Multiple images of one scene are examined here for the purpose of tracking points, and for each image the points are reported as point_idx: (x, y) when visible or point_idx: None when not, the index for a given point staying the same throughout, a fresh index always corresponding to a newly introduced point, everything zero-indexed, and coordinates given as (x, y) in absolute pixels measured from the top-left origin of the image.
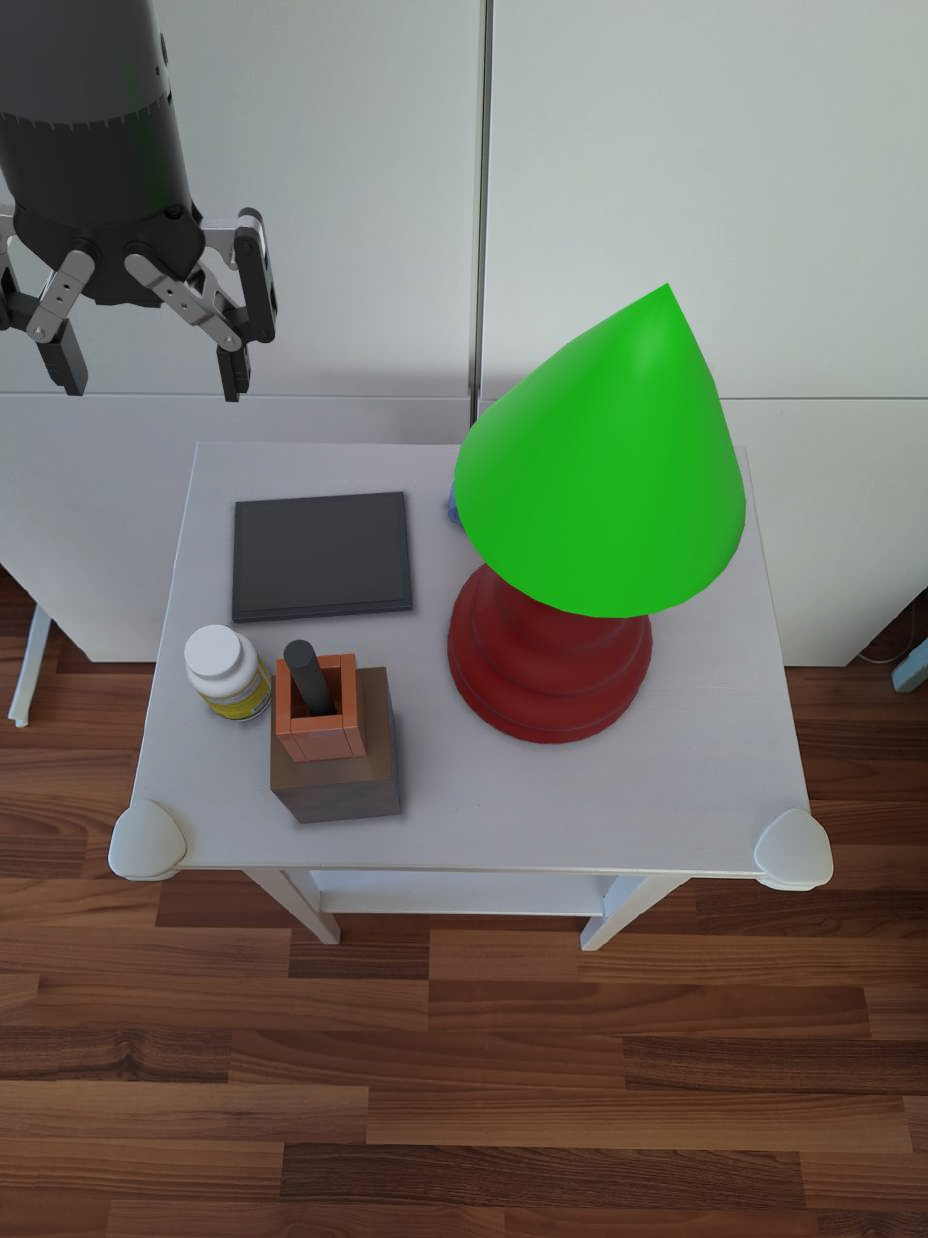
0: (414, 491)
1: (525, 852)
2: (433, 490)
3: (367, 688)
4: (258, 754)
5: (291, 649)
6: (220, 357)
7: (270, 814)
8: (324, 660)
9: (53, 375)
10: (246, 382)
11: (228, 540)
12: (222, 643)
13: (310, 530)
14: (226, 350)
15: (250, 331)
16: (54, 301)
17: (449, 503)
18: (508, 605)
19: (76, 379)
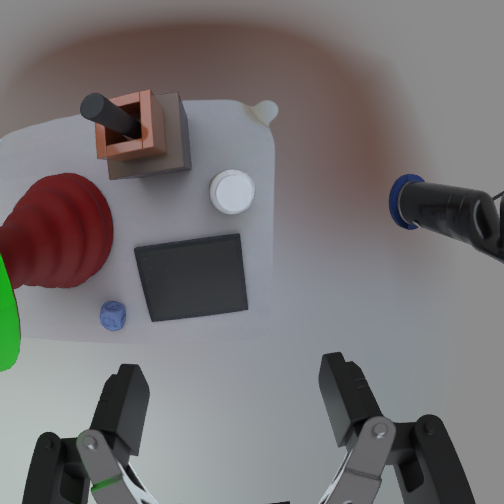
0: (147, 322)
1: (76, 117)
2: (137, 323)
3: (119, 163)
4: (214, 152)
5: (97, 107)
6: (114, 422)
7: (204, 120)
8: (117, 149)
9: (357, 373)
10: (105, 387)
11: (249, 286)
12: (228, 197)
13: (200, 295)
14: (99, 432)
15: (71, 450)
16: (357, 499)
17: (120, 313)
18: (47, 232)
19: (330, 374)
